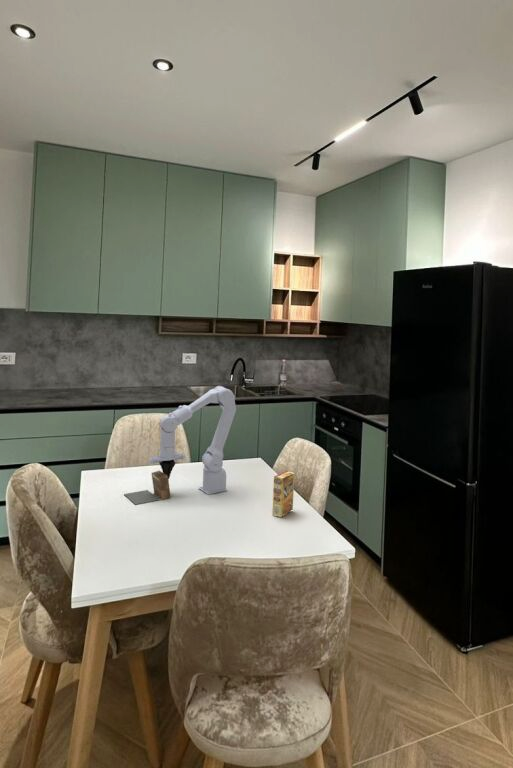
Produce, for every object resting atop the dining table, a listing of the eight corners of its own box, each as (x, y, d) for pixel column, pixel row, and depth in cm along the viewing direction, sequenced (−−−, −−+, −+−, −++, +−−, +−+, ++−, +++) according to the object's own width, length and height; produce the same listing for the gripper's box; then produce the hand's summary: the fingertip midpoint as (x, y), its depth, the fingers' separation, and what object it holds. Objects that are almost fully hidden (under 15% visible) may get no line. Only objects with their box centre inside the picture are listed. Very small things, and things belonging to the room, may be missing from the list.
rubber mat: (147, 490, 198) (147, 489, 198) (159, 500, 188) (159, 499, 188) (123, 495, 192) (123, 494, 192) (135, 505, 183) (135, 504, 182)
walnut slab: (162, 490, 197) (159, 470, 196) (170, 497, 191) (168, 476, 189) (154, 493, 196) (151, 472, 194) (162, 499, 189) (159, 478, 187)
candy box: (281, 518, 177) (283, 478, 175) (271, 515, 179) (273, 475, 177) (293, 511, 184) (295, 472, 182) (283, 508, 186) (285, 470, 184)
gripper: (179, 441, 199) (178, 473, 201) (146, 445, 191) (145, 478, 192) (187, 445, 193) (186, 477, 195) (153, 449, 185) (152, 483, 187)
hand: (166, 478), depth 193 cm, fingers closed
